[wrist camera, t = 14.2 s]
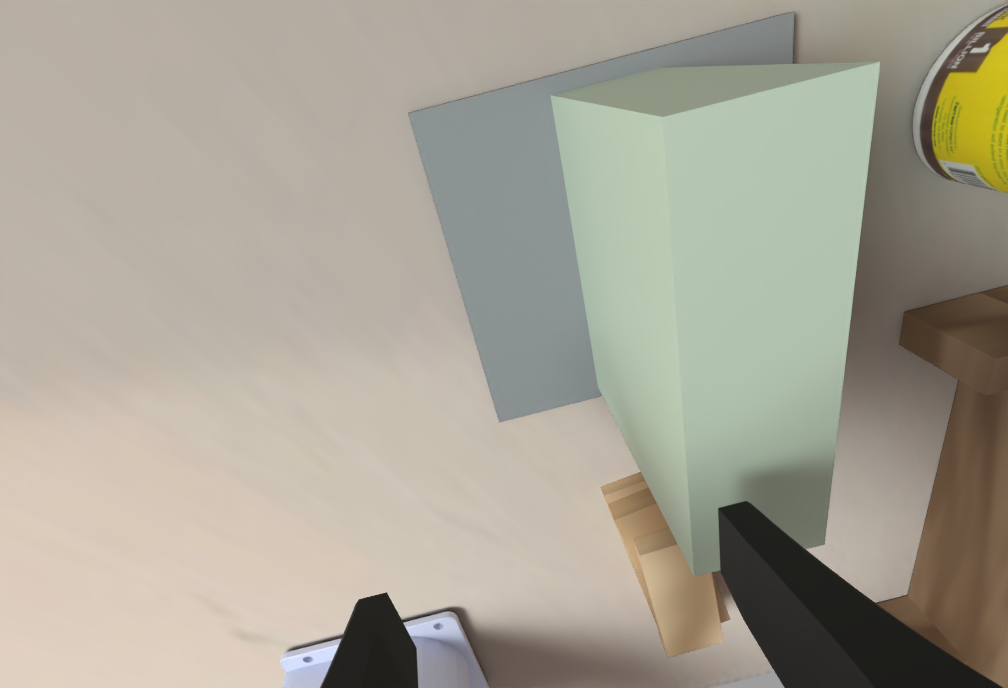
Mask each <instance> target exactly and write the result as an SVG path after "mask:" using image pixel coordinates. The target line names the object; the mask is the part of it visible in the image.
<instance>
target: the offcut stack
mask: <svg viewBox="0 0 1008 688" xmlns="http://www.w3.org/2000/svg"><path fill="white" fill-rule="evenodd" d="M601 490H602V492H603V495H604V497H605V500H606V502H607V505H608V507H609V509H610V512H611V514H612V517H613V519H614V522H615V524H616V527H617V529H618V531H619V534H620V536H621V539H622V541H623V544H624V546H625V548H626V551H627V553H628V556H629V558H630V561H631V563H632V565H633V568H634V570H635V573H636V575H637V578H638V580H639V582H640V585H641V587H642V590H643V592H644V595H645V597H646V599H647V602H648V604H649V607H650V609H651V612H652V614H653V617H654V619H655V621H656V624H657V627H658V631H659V635H660V638H661V641H662V644H663V646H664V649H665V651H666V654H667V657H668V658H671V657H674V656H677V655H681V654H684V653H687V652H691V651H694V650H697V649H701V648H704V647H708V646H711V645H714V644H718V643H721V642H724V640H723V634H722V629H721V623H723V622H725V621H728V620H730V617H729V614H728V611H727V609H726V606H725V604H724V601H723V599H722V596H721V593H720V591H719V588H718V586H717V583H716V581H715V578H714V575H713V573H708V574H704V575H700V576H696V577H694V576H693V574H692V572H691V570H690V568H689V566H688V564H687V562H686V560H685V558H684V556H683V554H682V552H681V550H680V548H679V546H678V544H677V542H676V540H675V538H674V536H673V534H672V532H671V530H670V528H669V526H668V524H667V522H666V520H665V518H664V516H663V514H662V512H661V510H660V508H659V506H658V504H657V503H656V501H655V499H654V497H653V495H652V493H651V491H650V489H649V487H648V485H647V483H646V481H645V479H644V477H643V475H642V473H641V472H639V473H637V474H634V475H631V476H629V477H626V478H623V479H621V480H618V481H615V482H613V483H610V484H607V485H605V486H602V487H601Z"/></svg>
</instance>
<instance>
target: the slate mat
mask: <svg viewBox="0 0 1008 688" xmlns="http://www.w3.org/2000/svg"><path fill="white" fill-rule="evenodd" d="M793 36H794V12H790V13H785V14H781V15H777V16H773V17H770V18H766V19H762V20H758V21H754V22H751V23H747V24H743V25H739V26H736V27H732V28H728V29H724V30H720V31H717V32H713V33H709V34H705V35H702V36H698V37H694V38H690V39H686V40H683V41H679V42H675V43H671V44H668V45H664V46H660V47H656V48H652V49H649V50H645V51H641V52H637V53H633V54H630V55H626V56H622V57H618V58H615V59H611V60H607V61H603V62H599V63H596V64H592V65H588V66H584V67H581V68H577V69H573V70H569V71H565V72H562V73H558V74H554V75H550V76H547V77H543V78H539V79H535V80H531V81H528V82H524V83H520V84H516V85H513V86H509V87H505V88H501V89H497V90H494V91H490V92H486V93H482V94H478V95H475V96H471V97H467V98H463V99H460V100H456V101H452V102H448V103H444V104H441V105H437V106H433V107H429V108H426V109H422V110H418V111H414V112H410V113H408V115H409V119H410V122H411V126H412V129H413V132H414V136H415V139H416V142H417V146H418V149H419V153H420V156H421V159H422V163H423V166H424V170H425V173H426V176H427V180H428V183H429V186H430V190H431V193H432V197H433V200H434V203H435V207H436V210H437V214H438V217H439V220H440V224H441V227H442V230H443V234H444V237H445V241H446V244H447V247H448V251H449V254H450V257H451V261H452V264H453V268H454V271H455V274H456V278H457V281H458V285H459V288H460V291H461V295H462V298H463V301H464V305H465V308H466V312H467V315H468V318H469V322H470V325H471V329H472V332H473V335H474V339H475V342H476V345H477V349H478V352H479V356H480V359H481V362H482V366H483V369H484V373H485V376H486V379H487V383H488V386H489V389H490V393H491V396H492V400H493V403H494V406H495V410H496V413H497V417H498V420H499V422H503V421H507V420H511V419H515V418H519V417H522V416H526V415H530V414H534V413H538V412H542V411H546V410H550V409H553V408H557V407H561V406H565V405H569V404H573V403H577V402H581V401H585V400H588V399H592V398H596V397H600V396H602V394H601V392H600V390H599V388H598V384H597V378H596V372H595V366H594V359H593V353H592V347H591V341H590V335H589V329H588V323H587V316H586V310H585V304H584V298H583V292H582V286H581V280H580V273H579V267H578V261H577V255H576V249H575V243H574V237H573V230H572V224H571V218H570V212H569V206H568V200H567V194H566V187H565V181H564V175H563V169H562V163H561V157H560V151H559V144H558V138H557V132H556V126H555V120H554V114H553V108H552V101H551V95H554V94H557V93H561V92H565V91H569V90H573V89H577V88H581V87H585V86H589V85H593V84H596V83H600V82H604V81H608V80H612V79H616V78H620V77H624V76H628V75H632V74H635V73H639V72H643V71H647V70H651V69H655V68H663V67H699V66H735V65H772V64H792V63H793Z"/></svg>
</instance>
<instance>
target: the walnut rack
mask: <svg viewBox="0 0 1008 688" xmlns="http://www.w3.org/2000/svg"><path fill="white" fill-rule="evenodd" d="M899 345H901V346H902V347H904V348H906V349H908V350H909V351H911V352H913V353H914V354H916V355H918V356H919V357H921V358H923V359H925V360H926V361H928V362H930V363H931V364H933V365H935V366H936V367H938V368H940V369H942V370H943V371H945V372H947V373H948V374H950V375H952V376H953V377H955V378H957V379H958V380H959V382H958V386H957V390H956V394H955V398H954V403H953V407H952V411H951V415H950V419H949V424H948V428H947V432H946V436H945V440H944V444H943V449H942V453H941V457H940V461H939V465H938V470H937V474H936V478H935V482H934V486H933V491H932V495H931V499H930V503H929V507H928V511H927V516H926V520H925V524H924V528H923V532H922V537H921V541H920V545H919V549H918V553H917V558H916V562H915V566H914V570H913V574H912V578H911V583H910V587H909V591H908V595H907V596H904V597H900V598H896V599H892V600H888V601H884V602H880V603H876V604H877V605H879V606H880V607H881V608H883V609H884V610H886V611H887V612H889V613H890V614H891V615H893V616H894V617H896V618H897V619H898V620H900V621H901V622H903V623H904V624H906V625H907V626H908V627H910V628H911V629H913V630H914V631H916V632H917V633H919V634H920V635H922V636H923V637H925V638H926V639H927V640H929V641H931V642H932V643H934V644H935V645H937V646H938V647H940V648H941V649H943V650H944V651H946V652H947V653H949V654H950V655H952V656H953V657H955V658H957V659H958V660H960V661H961V662H963V663H964V664H966V665H968V666H969V667H971V668H972V669H974V670H975V671H977V672H979V673H980V674H982V675H984V676H985V677H987V678H988V679H990V680H992V681H993V682H995V683H997V684H998V685H1000V686H1002V687H1003V688H1008V286H1004V287H1000V288H996V289H992V290H988V291H984V292H980V293H977V294H973V295H969V296H965V297H961V298H957V299H953V300H949V301H945V302H942V303H938V304H934V305H930V306H926V307H922V308H918V309H914V310H911V311H907V312H905V313H904V319H903V325H902V331H901V337H900V344H899Z"/></svg>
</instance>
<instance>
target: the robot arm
mask: <svg viewBox="0 0 1008 688" xmlns="http://www.w3.org/2000/svg"><path fill="white" fill-rule="evenodd" d="M718 521H719V546H720V571H721V573H722V575H723V577H724V579H725V582H726V584H727V586H728V588H729V590H730V592H731V594H732V597H733V599H734V601H735V603H736V605H737V607H738V609H739V611H740V613H741V615H742V617H743V619H744V621H745V623H746V624H747V626H748V628H749V629H750V631H751V633H752V635H753V636H754V638H755V639H756V641H757V643H758V644H759V646H760V648H761V649H762V651H763V653H764V654H765V656H766V658H767V659H768V661H769V663H770V664H771V666H772V668H773V669H774V671H775V673H776V674H777V676H778V677H779V679H780V681H781V682H782V684H783V686H784V687H785V688H1003V687H1002V686H1000V685H998V684H997V683H995V682H993V681H992V680H990V679H988V678H987V677H985V676H984V675H982V674H980V673H979V672H977V671H975V670H974V669H972V668H971V667H969V666H968V665H966V664H964V663H963V662H961V661H960V660H958V659H957V658H955V657H953V656H952V655H950V654H949V653H947V652H946V651H944V650H943V649H941V648H940V647H938V646H937V645H935V644H934V643H932V642H931V641H929V640H927V639H926V638H925V637H923V636H922V635H920V634H919V633H917V632H916V631H914V630H913V629H911V628H910V627H908V626H907V625H906V624H904V623H903V622H901V621H900V620H898V619H897V618H896V617H894V616H893V615H891V614H890V613H889V612H887V611H886V610H884V609H883V608H881V607H880V606H879V605H877V604H876V603H875V602H873V601H872V600H870V599H869V598H868V597H866V596H865V595H864V594H862V593H861V592H860V591H858V590H857V589H856V588H854V587H853V586H852V585H850V584H849V583H848V582H846V581H845V580H844V579H843V578H841V577H840V576H839V575H837V574H836V573H835V572H833V571H832V570H831V569H830V568H828V567H827V566H826V565H824V564H823V563H822V562H821V561H819V560H818V559H817V558H816V557H814V556H813V555H812V554H810V553H809V552H808V551H807V550H806V549H804V548H803V547H802V546H801V545H799V544H798V543H797V542H796V541H795V540H793V539H792V538H791V537H790V536H789V535H787V534H786V533H785V532H784V531H783V530H781V529H780V528H779V527H778V526H777V525H775V524H774V523H773V522H772V521H771V520H770V519H768V518H767V517H766V516H765V515H764V514H763V513H762V512H760V511H759V510H758V509H757V508H756V507H755V506H753V505H752V504H751V503H749V502H748V501H744V502H740V503H736V504H732V505H728V506H724V507H720V508H718ZM280 666H281V667H282V668H283V670H284V671H285V672H286V673H285V677H284V681H283V684H282V688H489V686H488V684H487V681H486V679H485V677H484V675H483V672H482V670H481V668H480V666H479V663H478V661H477V659H476V657H475V655H474V652H473V650H472V648H471V646H470V643H469V641H468V639H467V637H466V635H465V632H464V630H463V628H462V626H461V623H460V621H459V619H458V617H457V615H456V614H455V613H453V612H449V611H448V612H443V613H439V614H435V615H431V616H427V617H423V618H419V619H415V620H411V621H407V622H402V620H401V618H400V616H399V614H398V612H397V611H396V609H395V607H394V605H393V603H392V601H391V599H390V598H389V596H388V594H387V592H386V593H383V594H379V595H375V596H371V597H367V598H363V599H359V600H358V602H357V603H356V605H355V607H354V610H353V612H352V615H351V617H350V620H349V622H348V624H347V627H346V629H345V632H344V634H343V636H342V638H340V639H336V640H333V641H329V642H325V643H321V644H317V645H313V646H309V647H305V648H301V649H297V650H293V651H289V652H286V653H284V654H283V655H282V657H281V660H280Z"/></svg>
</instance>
